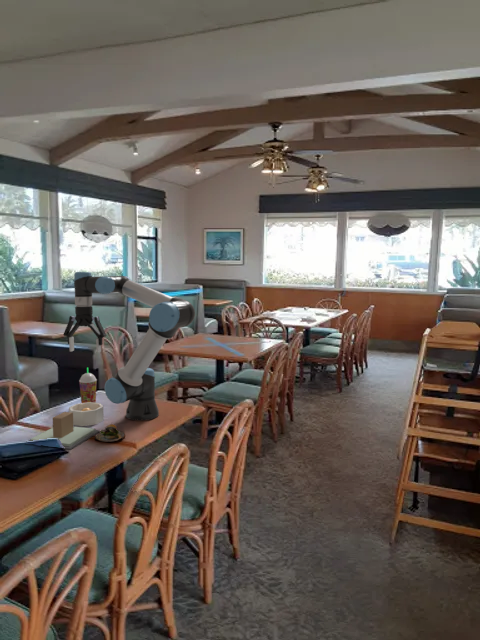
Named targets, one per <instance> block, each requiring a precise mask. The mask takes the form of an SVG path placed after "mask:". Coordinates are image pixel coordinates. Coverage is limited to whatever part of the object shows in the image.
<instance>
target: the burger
mask: <svg viewBox="0 0 480 640" xmlns="http://www.w3.org/2000/svg"><path fill="white" fill-rule="evenodd" d="M117 427H118V426H116V425H115V424H113V423H111V424H108V425H107V426H106V427H105V430H104V431H103V430H100V432H99V433H97V434H95V435H94V436H95V437H94V440H98V441H100V442H106V443H107V442H108V443H109V442H110V443H111V442H115V441H119V440H121V441H122V440H123V441H124V440H125V439H126V434H125V432H123V431H121V430H118V429H117Z"/></svg>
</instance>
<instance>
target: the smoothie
mask: <svg viewBox="0 0 480 640" xmlns="http://www.w3.org/2000/svg"><path fill="white" fill-rule="evenodd" d="M97 381H98V379H97V378H96V376H95V375H94V374H93V373H91V372H89V367H86V372H85V373H84V374H81V377H80V378H79V380H78V383H79V391H80V403H87V402H93V403H97Z"/></svg>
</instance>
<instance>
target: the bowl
mask: <svg viewBox="0 0 480 640" xmlns="http://www.w3.org/2000/svg"><path fill="white" fill-rule="evenodd" d="M68 412H72V413H73V426H75V427H86V426H87V427H88V426H94V425H98V424H100V423H101V422H103V421H105V420H104V419H105V418H104V417H105V416H104V405H103V404H102V403H101V402H96V403H93V402H87V403H81V402H80V403H75V404H73V405H71V406H69V407H68Z"/></svg>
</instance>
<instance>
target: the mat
mask: <svg viewBox="0 0 480 640" xmlns="http://www.w3.org/2000/svg"><path fill="white" fill-rule="evenodd" d="M100 432H101V430H99V429H95V431H94V432H93V433H91V434H89V435H88V436H86V437H84V438H83V439H81V440H80V441H78V442H76V443H75V444H73V445H71V446H64V447H65V449H64V450H70V451H71V450H73V449H74V448H76V447H78V446H79V445H81V444H83V443H84V442H86V441H87V440H89V439H90V438H92V437H94V436H96V435H97V434H99V433H100ZM27 441H30V439H28V440H27Z"/></svg>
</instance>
